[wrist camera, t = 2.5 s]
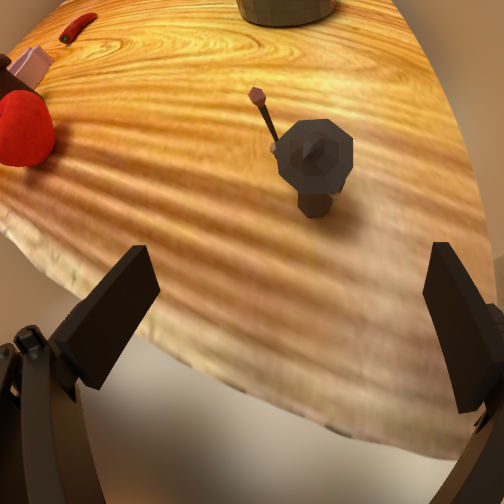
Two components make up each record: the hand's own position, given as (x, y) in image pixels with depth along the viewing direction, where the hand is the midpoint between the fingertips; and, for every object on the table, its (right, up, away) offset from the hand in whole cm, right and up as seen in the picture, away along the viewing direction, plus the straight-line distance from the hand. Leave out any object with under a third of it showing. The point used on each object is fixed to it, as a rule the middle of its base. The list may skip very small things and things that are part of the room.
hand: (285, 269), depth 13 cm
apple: (-36, +18, +27) cm, 48 cm away
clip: (-57, +40, +38) cm, 79 cm away
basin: (+4, +41, +24) cm, 47 cm away
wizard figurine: (+3, +6, +15) cm, 17 cm away
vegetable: (-45, +56, +39) cm, 82 cm away
